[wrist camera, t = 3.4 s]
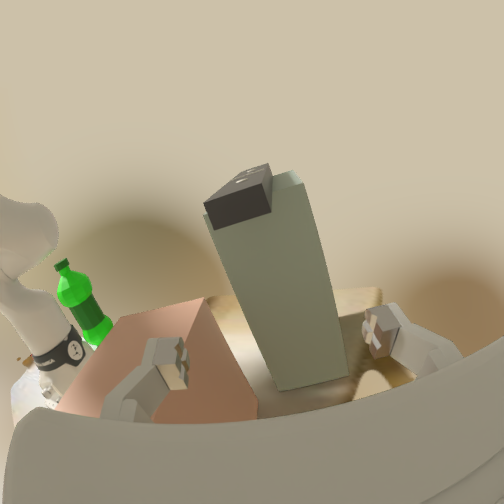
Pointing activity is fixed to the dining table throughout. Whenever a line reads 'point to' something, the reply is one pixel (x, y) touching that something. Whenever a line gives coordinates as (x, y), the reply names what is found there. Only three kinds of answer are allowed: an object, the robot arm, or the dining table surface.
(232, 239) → the pedestal
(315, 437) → the robot arm
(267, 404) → the dining table surface
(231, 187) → the domino
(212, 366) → the pinkish tan cardboard cube
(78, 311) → the plastic bottle
